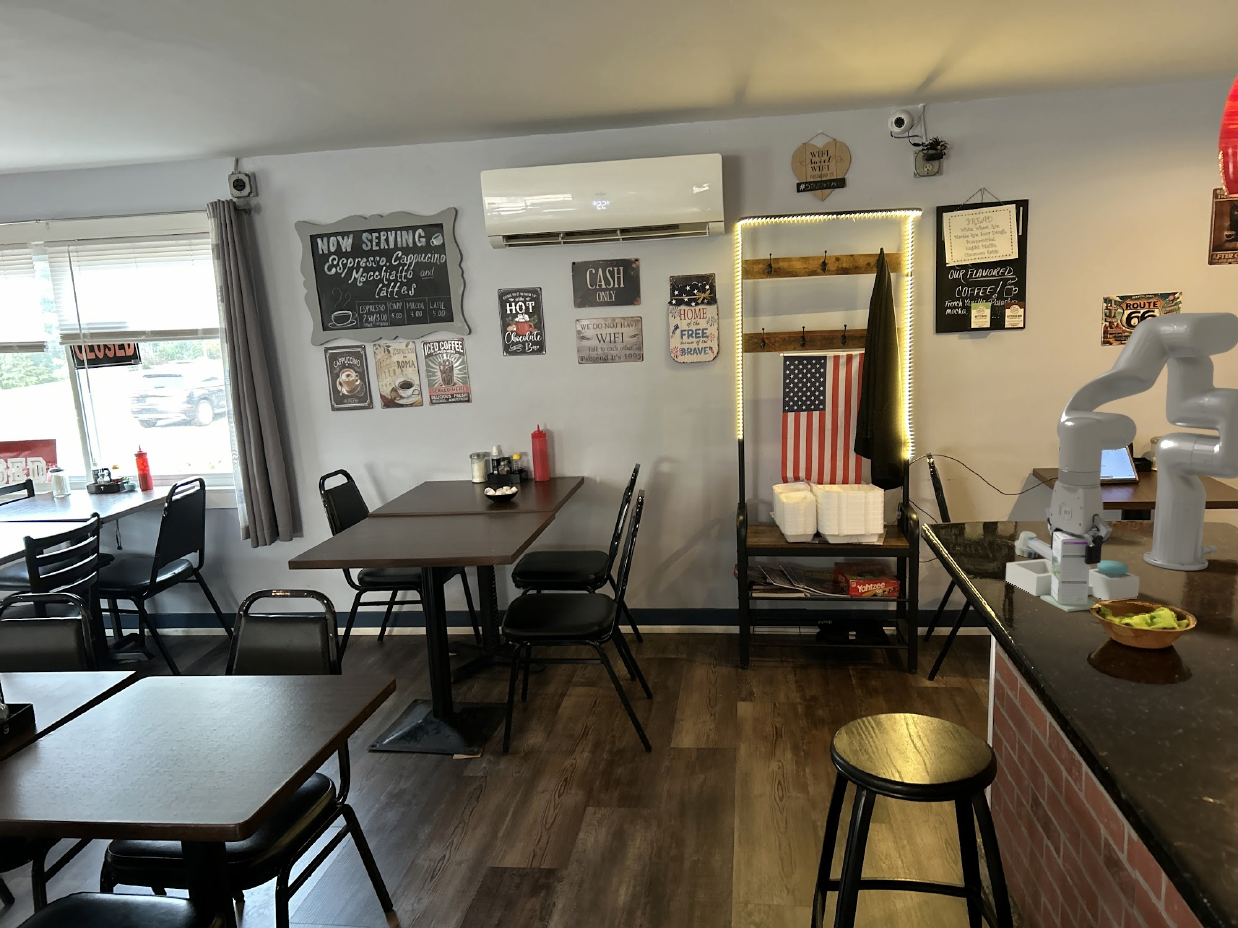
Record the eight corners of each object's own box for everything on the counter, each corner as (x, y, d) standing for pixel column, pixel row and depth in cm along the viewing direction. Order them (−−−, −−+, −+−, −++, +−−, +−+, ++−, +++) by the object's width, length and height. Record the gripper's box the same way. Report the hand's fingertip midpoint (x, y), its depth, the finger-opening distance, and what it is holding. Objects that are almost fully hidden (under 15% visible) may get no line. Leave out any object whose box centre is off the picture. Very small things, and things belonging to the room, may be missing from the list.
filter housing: (1076, 573, 182) (1078, 553, 181) (1137, 599, 165) (1139, 576, 164) (1005, 581, 179) (1006, 560, 178) (1060, 608, 162) (1061, 585, 161)
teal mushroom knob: (1111, 586, 170) (1113, 559, 169) (1132, 594, 165) (1134, 566, 164) (1089, 588, 170) (1091, 561, 168) (1109, 597, 164) (1111, 569, 163)
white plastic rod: (1080, 569, 174) (1012, 526, 197) (1075, 595, 176) (1009, 550, 199) (1101, 567, 174) (1031, 524, 198) (1096, 593, 177) (1027, 548, 200)
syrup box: (1088, 605, 161) (1093, 538, 158) (1057, 604, 162) (1061, 538, 159) (1078, 596, 166) (1083, 531, 164) (1048, 595, 168) (1052, 530, 165)
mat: (1073, 594, 169) (1073, 592, 169) (1101, 607, 161) (1101, 604, 161) (1040, 598, 167) (1040, 595, 167) (1067, 611, 160) (1067, 608, 160)
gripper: (1033, 471, 167) (1030, 546, 170) (1095, 488, 150) (1090, 571, 154) (1064, 467, 168) (1061, 542, 172) (1128, 484, 151) (1123, 567, 155)
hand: (1074, 556), depth 163 cm, fingers open, 9 cm apart
